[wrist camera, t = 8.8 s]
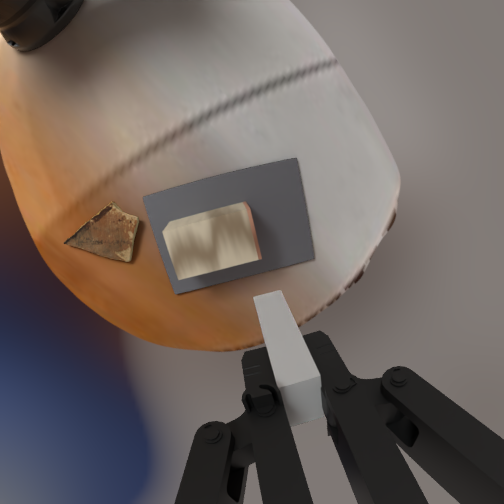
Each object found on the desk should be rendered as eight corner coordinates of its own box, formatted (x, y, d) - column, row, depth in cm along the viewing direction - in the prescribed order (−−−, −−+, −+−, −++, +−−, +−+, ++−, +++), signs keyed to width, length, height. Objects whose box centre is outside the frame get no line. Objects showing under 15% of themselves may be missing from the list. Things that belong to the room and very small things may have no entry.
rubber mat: (143, 196, 33) (142, 197, 33) (295, 157, 34) (296, 157, 34) (175, 292, 38) (175, 294, 38) (313, 257, 39) (314, 258, 39)
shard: (67, 240, 34) (62, 244, 32) (74, 189, 32) (68, 191, 30) (132, 260, 37) (128, 265, 35) (143, 208, 34) (139, 211, 33)
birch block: (245, 201, 35) (169, 221, 34) (250, 208, 30) (162, 232, 30) (256, 245, 37) (182, 264, 36) (262, 258, 32) (178, 280, 32)
